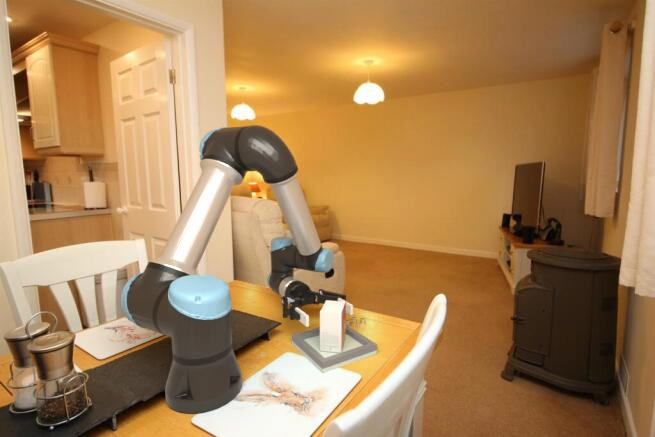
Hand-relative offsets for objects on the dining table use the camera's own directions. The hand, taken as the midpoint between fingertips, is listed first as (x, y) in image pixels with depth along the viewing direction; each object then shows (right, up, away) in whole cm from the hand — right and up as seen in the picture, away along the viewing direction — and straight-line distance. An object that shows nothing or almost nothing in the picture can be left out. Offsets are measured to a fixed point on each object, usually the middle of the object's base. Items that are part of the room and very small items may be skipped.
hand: (330, 315), depth 90 cm
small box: (+1, -8, -1) cm, 8 cm away
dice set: (+8, -7, +14) cm, 17 cm away
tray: (+1, -8, -1) cm, 8 cm away
